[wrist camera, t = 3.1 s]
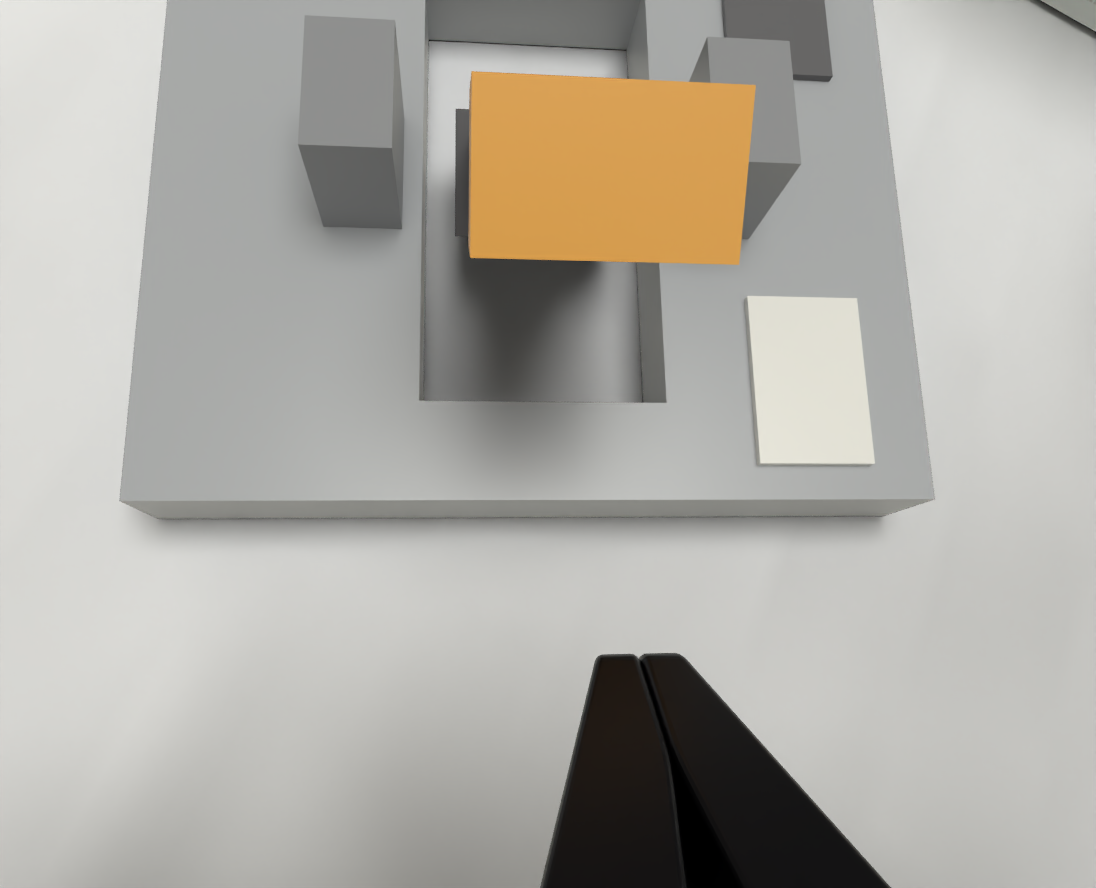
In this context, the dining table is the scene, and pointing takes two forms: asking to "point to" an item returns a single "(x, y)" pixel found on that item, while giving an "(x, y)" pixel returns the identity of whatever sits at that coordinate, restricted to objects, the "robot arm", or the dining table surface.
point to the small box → (1077, 10)
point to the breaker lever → (602, 169)
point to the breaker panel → (399, 280)
